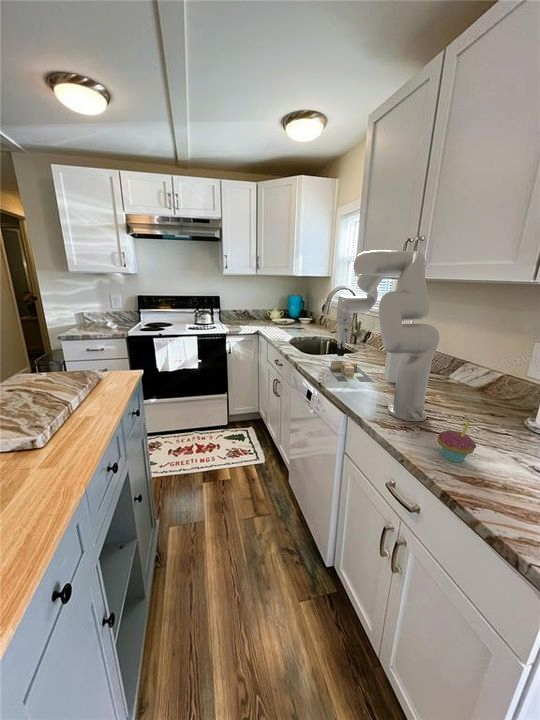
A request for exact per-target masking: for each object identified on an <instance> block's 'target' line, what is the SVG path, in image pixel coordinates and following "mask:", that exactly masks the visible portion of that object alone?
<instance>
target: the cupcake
mask: <svg viewBox="0 0 540 720" xmlns="http://www.w3.org/2000/svg"><path fill="white" fill-rule="evenodd" d="M470 421H471V419H469V420H468V421H466V422H465V425H464V428H463V429H462V431H455V430H451V429H450V430H445V431H444V430H443V431H441V432H439V433H438V436H437V440H436V442H437V443H438V445H440V446H441V450H442V455H443V457H444V458H445V459H446V460H448V461H451V462H453V463H462V462H464V461H465V459H466V458H467V456H468V455H471V454H473V453H474V451H475V449H476V448H477V445H476V443H475V442H474V440H473V439H472V438H471V437H470V436H469V435H467V433H466V432H467V430H468V428H469V426H470V424H471V422H470Z"/></svg>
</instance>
